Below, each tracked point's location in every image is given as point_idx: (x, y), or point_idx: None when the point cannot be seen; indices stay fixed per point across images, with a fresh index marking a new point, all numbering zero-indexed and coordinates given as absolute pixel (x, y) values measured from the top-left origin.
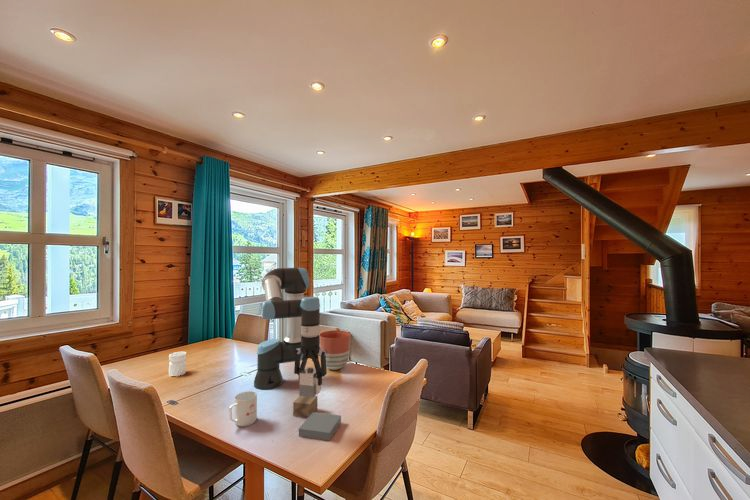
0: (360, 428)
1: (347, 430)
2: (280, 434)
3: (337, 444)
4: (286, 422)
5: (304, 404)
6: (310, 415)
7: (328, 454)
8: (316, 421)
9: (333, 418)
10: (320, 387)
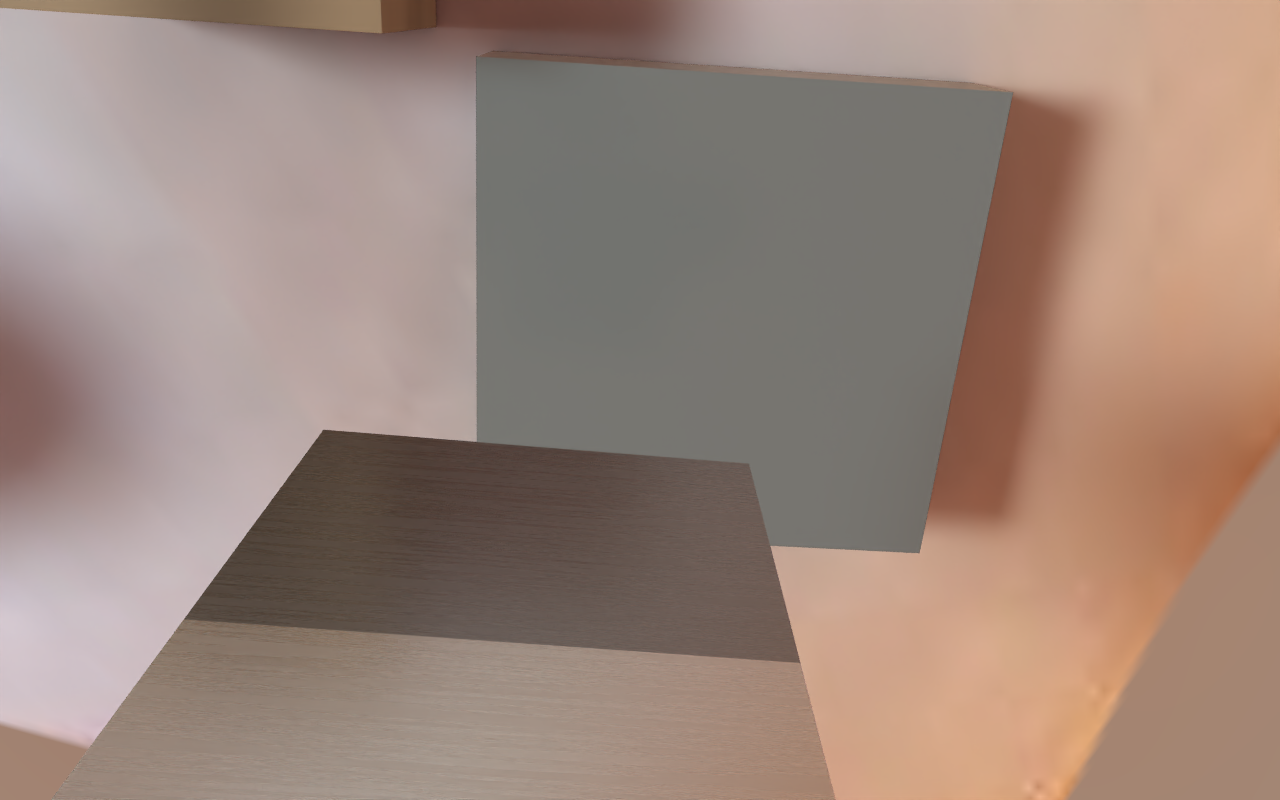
0: (1276, 187)
1: (1090, 265)
2: (248, 480)
3: (995, 546)
4: (147, 212)
5: (260, 24)
6: (488, 178)
7: (927, 694)
8: (654, 333)
9: (899, 206)
10: (755, 514)
